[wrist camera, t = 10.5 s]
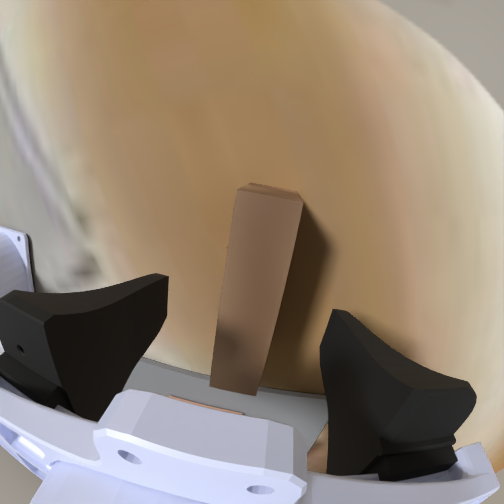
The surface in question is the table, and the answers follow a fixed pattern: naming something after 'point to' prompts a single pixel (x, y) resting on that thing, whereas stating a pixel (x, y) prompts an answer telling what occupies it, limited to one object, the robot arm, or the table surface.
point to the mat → (234, 397)
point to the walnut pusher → (253, 284)
